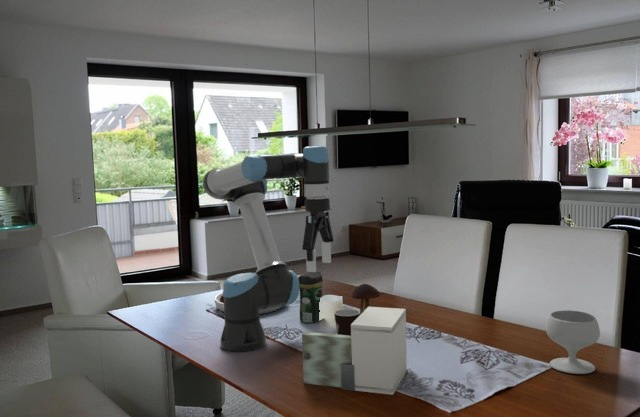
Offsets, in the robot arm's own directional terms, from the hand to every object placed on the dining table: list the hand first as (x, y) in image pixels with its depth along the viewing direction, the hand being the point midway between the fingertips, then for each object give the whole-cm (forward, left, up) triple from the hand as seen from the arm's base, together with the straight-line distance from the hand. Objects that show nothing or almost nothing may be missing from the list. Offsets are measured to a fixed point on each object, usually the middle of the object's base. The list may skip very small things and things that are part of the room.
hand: (319, 267), depth 176 cm
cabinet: (+22, -12, -29) cm, 38 cm away
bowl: (-49, +49, -29) cm, 75 cm away
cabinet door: (+9, -19, -29) cm, 35 cm away
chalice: (+72, +11, -29) cm, 78 cm away
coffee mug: (+3, +18, -29) cm, 34 cm away
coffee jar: (-17, +36, -29) cm, 49 cm away
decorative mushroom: (+4, +37, -29) cm, 47 cm away
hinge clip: (+15, -19, -29) cm, 37 cm away
